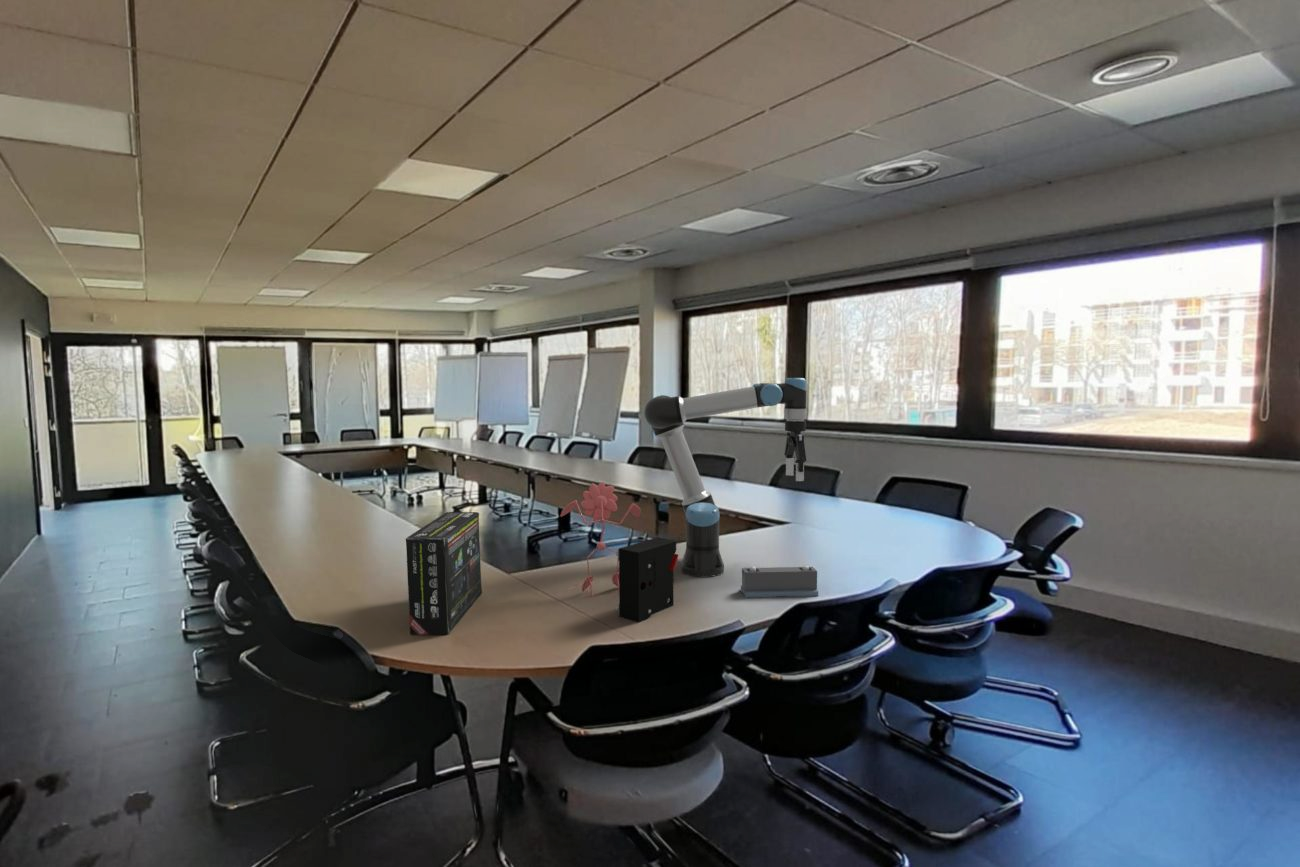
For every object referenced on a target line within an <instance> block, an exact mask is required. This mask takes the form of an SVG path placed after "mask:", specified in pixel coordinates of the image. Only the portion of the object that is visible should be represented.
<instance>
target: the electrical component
mask: <svg viewBox="0 0 1300 867" xmlns="http://www.w3.org/2000/svg"><path fill="white" fill-rule="evenodd" d="M676 552H677V542H676V541H675V540H674V539H670V538H669V539H668V538H663V537H654V538H650V539H647V540H643V541H640V542H636V543H633V544H630V545H627V546H626V545H625V546H623V547H620V548H617V550H616V553H615V555H616V557H617V561H619V563H618V573H619V591H618V594H619V596H618V597H619V599H618V600H619V603H618V604H617V605H616V610H617V612H618V616H619V618H622V619H626V620H629V621H631V622H636V623H642V622H643V621H646V620H647V619H650V618H651V617H652V615H655V614H657V613H659V612H661V611H664V610H667V609H669V608H670V607H673V606H674V571H675V567H676V564H677V561H678V558H679V554H677V553H676Z"/></svg>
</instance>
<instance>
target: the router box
mask: <svg viewBox="0 0 1300 867" xmlns="http://www.w3.org/2000/svg"><path fill="white" fill-rule="evenodd" d="M479 517H480V512H479V511H449V512H444V513H443V514H442V515H440V516H438V517H437V518H435V519H433V520H431V522H428V523H427V524H425V525H424V526H423V527H421V528H420V529H418V530H416V531H415V532H413V533H411V534H410V535H409V536H408V537H406V538H405V546H406V550H405V551H406V567H407V568H406V570H407V572H406V574H407V575H406V576H407V594H408V596H407V597H408V613H409V615H408V616H409V634H410V635H423V636H425V635H426V636H429V635H431V636H433V635H448V634H449V635H450V634H451V632H452V630H453V629H455V626H456V627H457V624H458V623H459V622H460V621H461V619H462V618H463V617H464V616H465V615H466V613H467V612H468V611H469V610H470V608H471V607H472V606H473V605H474V604H475V602H476V601H477V600H478V598H479V597H480V596H481V595H482V594H483V590H482V573H481V571H482V570H481V547H480V546H481V543H480V542H481V541H480V518H479Z"/></svg>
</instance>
